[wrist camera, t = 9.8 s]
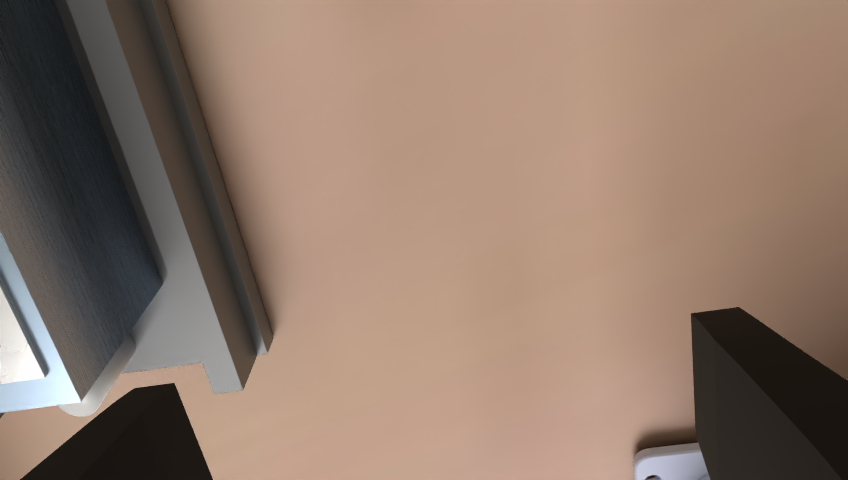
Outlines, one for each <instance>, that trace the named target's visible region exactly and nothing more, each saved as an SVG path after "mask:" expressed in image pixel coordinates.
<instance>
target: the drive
mask: <svg viewBox="0 0 848 480" xmlns="http://www.w3.org/2000/svg"><path fill="white" fill-rule="evenodd" d="M162 285H163V283H162V281H161V278H160V276H159V273H158V270H157V268H156V265H155V262H154V260H153V257H152V255H151V252H150V249H149V247H148V244H147V242H146V239H145V236H144V234H143V231H142V228H141V226H140V223H139V221H138V218H137V215H136V213H135V210H134V208H133V205H132V202H131V200H130V197H129V194H128V192H127V189H126V187H125V184H124V181H123V179H122V176H121V174H120V171H119V168H118V166H117V163H116V160H115V158H114V155H113V153H112V150H111V147H110V145H109V142H108V139H107V137H106V134H105V132H104V129H103V126H102V124H101V121H100V119H99V116H98V113H97V111H96V108H95V105H94V103H93V100H92V98H91V95H90V92H89V90H88V87H87V85H86V82H85V79H84V77H83V74H82V71H81V69H80V66H79V64H78V61H77V58H76V56H75V53H74V51H73V48H72V45H71V43H70V40H69V37H68V35H67V32H66V30H65V27H64V24H63V22H62V19H61V17H60V14H59V11H58V9H57V6H56V3H55V1H54V0H0V413H3V412H10V411H18V410H25V409H33V408H40V407H48V406H55V405H63V404H70V403H77V402H82V400H83V399H84V397H85V396H86V394H87V393H88V391H89V390H90V389H91V387H92V386H93V384H94V383H95V381H96V380H97V379H98V377H99V376H100V374H101V373H102V371H103V370H104V368H105V367H106V366H107V364H108V363H109V361H110V360H111V358H112V357H113V356H114V354H115V353H116V351H117V350H118V348H119V347H120V346H121V344H122V343H123V341H124V340H125V338H126V337H127V335H128V334H129V333H130V331H131V330H132V328H133V327H134V325H135V324H136V323H137V321H138V320H139V318H140V317H141V315H142V314H143V312H144V311H145V310H146V308H147V307H148V305H149V304H150V302H151V301H152V300H153V298H154V297H155V295H156V294H157V292H158V291H159V290H160V288H161V287H162Z"/></svg>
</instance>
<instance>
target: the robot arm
mask: <svg viewBox="0 0 848 480" xmlns="http://www.w3.org/2000/svg"><path fill="white" fill-rule="evenodd" d="M691 326H692V352H693V377H694V402H695V428H696V437H697V440H698V443H690V444H681V445H673V446H664V447H655V448H648V449H644V450H641V451H640V452H638V453H637V454H636V455H635V457H634V458H633V472H634V480H848V381H847V380H846V379H844V378H843V377H841V376H839V375H838V374H836V373H835V372H833V371H832V370H830V369H829V368H827V367H826V366H824V365H823V364H821V363H820V362H818V361H817V360H815V359H814V358H812V357H811V356H809V355H808V354H806V353H805V352H803V351H802V350H801V349H799V348H798V347H796V346H795V345H793V344H792V343H790V342H789V341H787V340H786V339H785V338H783V337H782V336H780V335H779V334H777V333H776V332H774V331H773V330H772V329H770V328H769V327H767V326H766V325H764V324H763V323H762V322H760V321H759V320H757V319H756V318H754V317H753V316H751V315H750V314H748V313H747V312H745V311H744V310H742V309H741V308H739V307H736V308H729V309H721V310H714V311H706V312H699V313H691ZM650 475H657V476H656V477H654V478H651V479H647V477H648V476H650ZM20 480H213V479H212V476H211V474H210V471H209V469H208V466H207V464H206V461H205V459H204V456H203V454H202V451H201V449H200V446H199V444H198V441H197V439H196V436H195V433H194V431H193V428H192V426H191V423H190V421H189V418H188V416H187V413H186V411H185V408H184V406H183V403H182V401H181V398H180V396H179V393H178V391H177V388H176V386H175V383H171V384H163V385H156V386H148V387H141V388H134V389H133V390H131V391H130V392H128V393H127V394H125V395H124V396H123V397H121V398H120V399H118V400H117V401H116V402H114V403H113V404H112V405H110V406H109V407H108V408H107V409H105V410H104V411H103V412H102V413H100V414H99V415H98V416H97V417H95V418H94V419H93V420H92V421H90V422H89V423H88V424H87V425H86V426H84V427H83V428H82V429H81V430H79V431H78V432H77V433H76V434H75V435H73V436H72V437H71V438H70V439H69V440H67V441H66V442H65V443H64V444H63V445H61V446H60V447H59V448H58V449H57V450H55V451H54V452H53V453H52V454H51V455H49V456H48V457H47V458H46V459H44V460H43V461H42V462H41V463H40V464H38V465H37V466H36V467H35V468H34V469H32V470H31V471H30V472H29V473H28V474H26V475H25V476H24V477H23V478H21V479H20Z"/></svg>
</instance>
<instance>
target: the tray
mask: <svg viewBox="0 0 848 480" xmlns="http://www.w3.org/2000/svg"><path fill="white" fill-rule="evenodd" d="M54 1H55V3H56V6H57V9H58V11H59V14H60V17H61V19H62V22H63V24H64V27H65V30H66V32H67V35H68V37H69V40H70V43H71V45H72V48H73V51H74V53H75V56H76V58H77V61H78V64H79V66H80V69H81V71H82V74H83V77H84V79H85V82H86V85H87V87H88V90H89V92H90V95H91V98H92V100H93V103H94V105H95V108H96V111H97V113H98V116H99V119H100V121H101V124H102V126H103V129H104V132H105V134H106V137H107V139H108V142H109V145H110V147H111V150H112V153H113V155H114V158H115V160H116V163H117V166H118V168H119V171H120V174H121V176H122V179H123V181H124V184H125V187H126V189H127V192H128V194H129V197H130V200H131V202H132V205H133V208H134V210H135V213H136V215H137V218H138V221H139V223H140V226H141V228H142V231H143V234H144V236H145V239H146V242H147V244H148V247H149V249H150V252H151V255H152V257H153V260H154V262H155V265H156V268H157V270H158V273H159V276H160V278H161V281H162V283H163V285H162V287H161V288H160V290H159V291H158V292H157V294H156V295H155V297H154V298H153V300H152V301H151V302H150V304H149V305H148V307H147V308H146V310H145V311H144V312H143V314H142V315H141V317H140V318H139V320H138V321H137V323H136V324H135V325H134V327H133V328H132V330H131V331H130V333H129V334H128V335H127V337H126V338H125V340H124V341H123V343H122V344H121V346H120V347H119V348H118V350H117V351H116V353H115V354H114V356H113V357H112V358H111V360H110V361H109V363H108V364H107V366H106V367H105V368H104V370H103V371H102V373H101V374H100V376H99V377H98V379H97V380H96V381H95V383H94V384H93V386H92V387H91V389H90V390H89V391H88V393H87V394H86V396H85V397H84V399H83V400H82V402H77V403H70V404H63V405H57V406H58V407H59V408H60V409H61V410H63V411H64V412H66V413H68V414H70V415H73V416H80V417H83V416H89V415H91V414H93V413H94V412H96V411H97V409H98V408H99V406H100V405H101V403H102V402H103V400H104V399H105V397H106V396H107V394H108V393H109V391H110V389H111V388H112V386H113V385H114V383H115V382H116V380H117V379H118V377H119V376H120V374H123V373H130V372H138V371H145V370H152V369H160V368H167V367H174V366H181V365H189V364H196V363H202V364H203V367H204V369H205V372H206V375H207V377H208V380H209V383H210V385H211V388H212V391H213V393H214V394H219V393H227V392H234V391H242V390H243V389H244V387H245V384H246V382H247V379H248V377H249V374H250V372H251V369H252V367H253V364H254V362H255V359H256V357H257V355H262V354H268V351H269V348H270V346H271V343H272V341H273V334H272V331H271V328H270V325H269V322H268V319H267V316H266V313H265V310H264V306H263V303H262V300H261V297H260V294H259V291H258V288H257V285H256V281H255V278H254V275H253V272H252V269H251V266H250V263H249V260H248V256H247V253H246V250H245V247H244V244H243V241H242V238H241V235H240V232H239V228H238V225H237V222H236V219H235V216H234V213H233V210H232V207H231V203H230V200H229V197H228V194H227V191H226V188H225V185H224V182H223V179H222V175H221V172H220V169H219V166H218V163H217V160H216V157H215V154H214V150H213V147H212V144H211V141H210V138H209V135H208V132H207V129H206V125H205V122H204V119H203V116H202V113H201V110H200V107H199V104H198V101H197V97H196V94H195V91H194V88H193V85H192V82H191V79H190V76H189V72H188V69H187V66H186V63H185V60H184V57H183V54H182V51H181V48H180V44H179V41H178V38H177V35H176V32H175V29H174V26H173V23H172V19H171V16H170V13H169V10H168V7H167V4H166V1H165V0H54ZM4 413H5V412H3V413H0V418H1V417H2V416H3V414H4Z"/></svg>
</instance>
